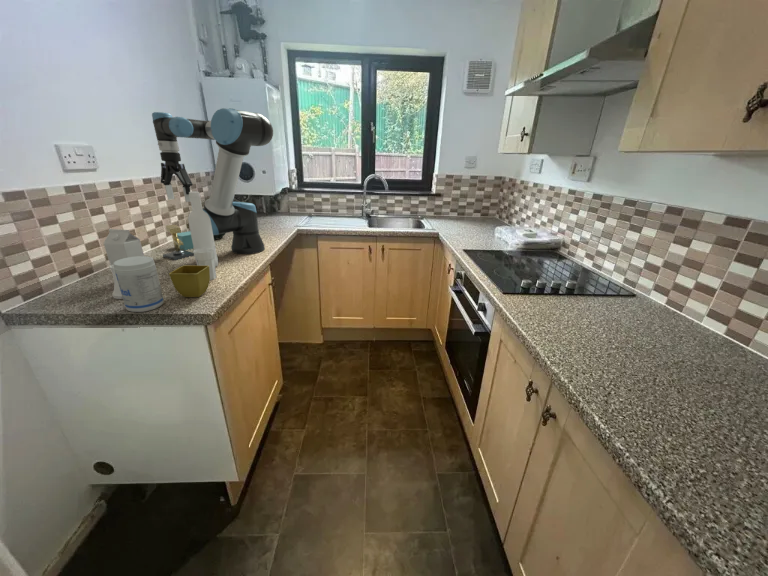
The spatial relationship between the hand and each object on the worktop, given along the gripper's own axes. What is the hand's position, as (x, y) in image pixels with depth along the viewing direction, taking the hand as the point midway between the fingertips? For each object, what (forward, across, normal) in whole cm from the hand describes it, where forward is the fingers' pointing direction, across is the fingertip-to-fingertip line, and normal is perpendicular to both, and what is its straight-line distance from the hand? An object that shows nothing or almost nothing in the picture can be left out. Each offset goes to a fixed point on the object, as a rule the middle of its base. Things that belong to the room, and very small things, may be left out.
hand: (179, 200), depth 149 cm
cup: (+23, +47, -23) cm, 57 cm away
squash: (+23, -7, +18) cm, 30 cm away
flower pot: (+23, +57, -35) cm, 71 cm away
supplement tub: (+23, +53, -48) cm, 75 cm away
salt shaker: (+23, +38, -46) cm, 64 cm away
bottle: (+23, +34, -14) cm, 43 cm away
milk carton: (+23, +28, -39) cm, 53 cm away
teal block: (+23, 0, 0) cm, 23 cm away
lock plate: (+23, +11, -12) cm, 28 cm away
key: (+20, +14, -13) cm, 27 cm away
